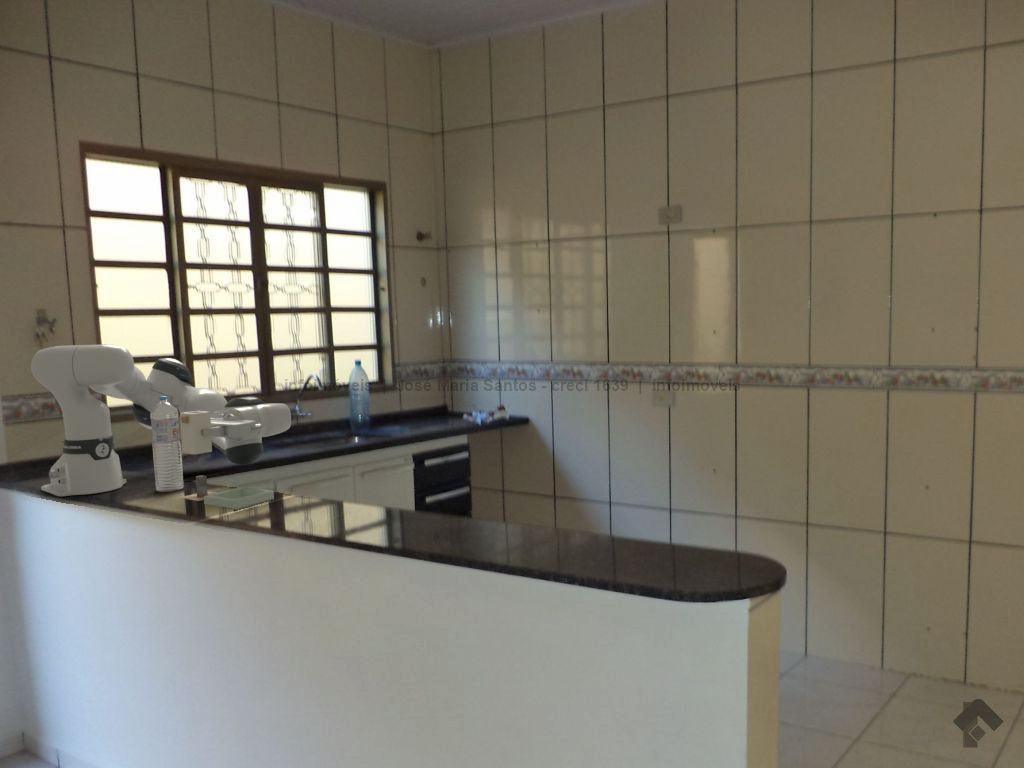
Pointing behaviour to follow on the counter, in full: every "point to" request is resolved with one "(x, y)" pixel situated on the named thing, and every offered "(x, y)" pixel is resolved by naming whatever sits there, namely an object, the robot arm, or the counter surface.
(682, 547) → the counter surface
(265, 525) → the counter surface
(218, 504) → the tray
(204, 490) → the stand
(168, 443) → the water bottle
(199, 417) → the sleeve
